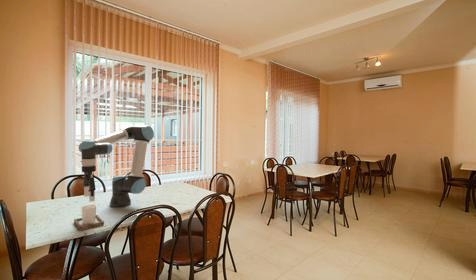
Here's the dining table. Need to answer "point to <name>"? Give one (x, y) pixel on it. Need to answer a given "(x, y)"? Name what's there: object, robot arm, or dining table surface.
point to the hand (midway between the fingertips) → (89, 198)
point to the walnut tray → (82, 226)
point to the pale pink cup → (88, 214)
